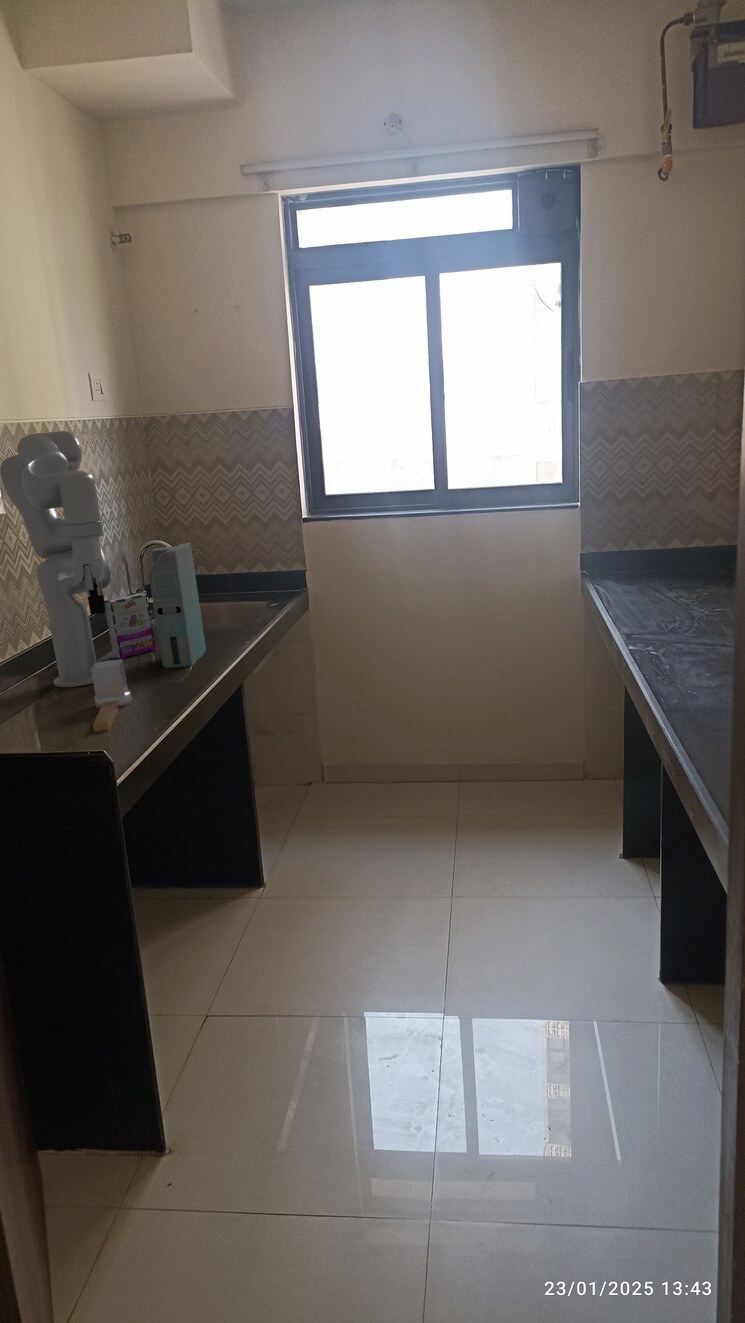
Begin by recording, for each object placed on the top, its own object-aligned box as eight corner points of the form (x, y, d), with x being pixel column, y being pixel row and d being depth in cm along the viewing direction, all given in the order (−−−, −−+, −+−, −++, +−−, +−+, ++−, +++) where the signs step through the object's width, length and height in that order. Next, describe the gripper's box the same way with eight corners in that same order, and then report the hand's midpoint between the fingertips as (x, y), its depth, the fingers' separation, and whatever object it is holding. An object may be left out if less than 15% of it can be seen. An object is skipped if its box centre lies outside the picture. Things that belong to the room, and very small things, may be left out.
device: (179, 653, 257) (162, 545, 249) (206, 651, 256) (190, 542, 249) (163, 668, 241) (145, 553, 234) (192, 666, 240) (175, 551, 233)
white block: (100, 691, 213) (95, 662, 212) (127, 688, 214) (122, 659, 212) (96, 699, 207) (91, 668, 206) (124, 695, 208) (119, 665, 206)
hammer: (99, 701, 215) (94, 674, 213) (134, 697, 216) (129, 670, 214) (81, 733, 191) (76, 703, 190) (121, 728, 192) (116, 698, 190)
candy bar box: (148, 648, 267) (139, 592, 263) (156, 650, 263) (147, 593, 259) (112, 657, 260) (102, 600, 256) (120, 659, 256) (110, 601, 252)
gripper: (72, 529, 208) (86, 608, 213) (60, 536, 194) (75, 622, 199) (106, 525, 209) (119, 605, 214) (97, 533, 195) (111, 618, 200)
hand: (98, 613), depth 206 cm, fingers closed
